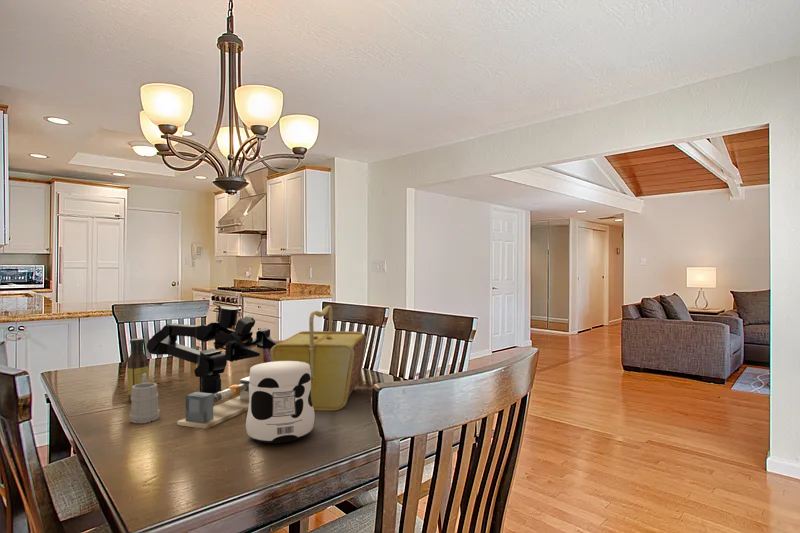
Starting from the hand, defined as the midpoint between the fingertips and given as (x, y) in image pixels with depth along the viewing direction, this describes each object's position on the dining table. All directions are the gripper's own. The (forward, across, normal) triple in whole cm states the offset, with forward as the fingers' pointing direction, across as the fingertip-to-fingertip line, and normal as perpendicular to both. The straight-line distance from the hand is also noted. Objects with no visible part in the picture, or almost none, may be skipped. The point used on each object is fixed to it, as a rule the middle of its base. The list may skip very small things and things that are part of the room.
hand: (269, 350), depth 155 cm
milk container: (+26, -26, +9) cm, 38 cm away
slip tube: (-2, -10, +12) cm, 16 cm away
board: (-1, -14, +15) cm, 21 cm away
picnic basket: (+18, +6, +15) cm, 24 cm away
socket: (-1, -27, +12) cm, 30 cm away
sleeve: (-2, -3, +16) cm, 16 cm away
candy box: (-12, +20, +22) cm, 32 cm away
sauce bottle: (-38, -18, +22) cm, 47 cm away
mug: (-19, -30, +16) cm, 40 cm away
